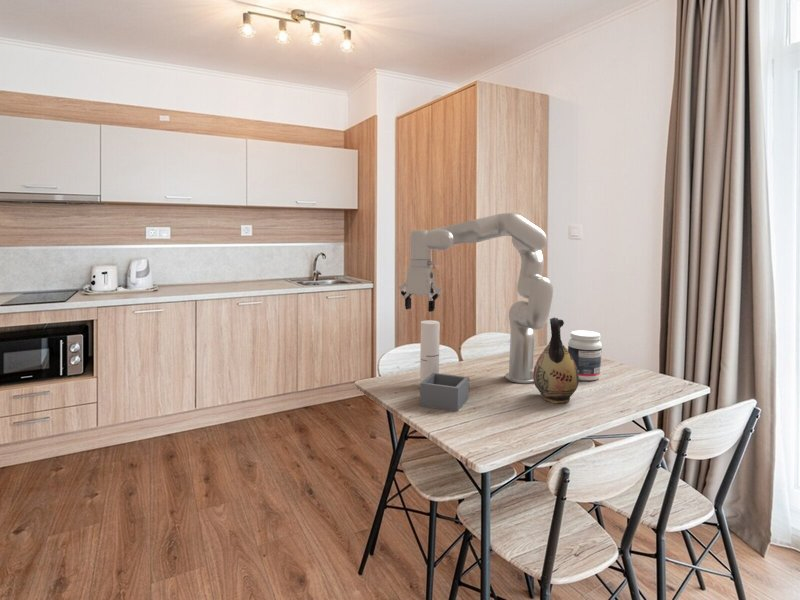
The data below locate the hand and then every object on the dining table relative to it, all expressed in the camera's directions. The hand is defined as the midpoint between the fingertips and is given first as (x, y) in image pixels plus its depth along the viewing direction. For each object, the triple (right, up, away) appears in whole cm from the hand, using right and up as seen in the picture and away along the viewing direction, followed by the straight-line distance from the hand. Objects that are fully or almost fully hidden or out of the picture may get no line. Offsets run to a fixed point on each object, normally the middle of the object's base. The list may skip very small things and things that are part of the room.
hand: (419, 310), depth 181 cm
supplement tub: (+68, -28, +19) cm, 76 cm away
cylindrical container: (+4, -30, +7) cm, 31 cm away
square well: (+8, -32, -10) cm, 35 cm away
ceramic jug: (+48, -32, -8) cm, 58 cm away
